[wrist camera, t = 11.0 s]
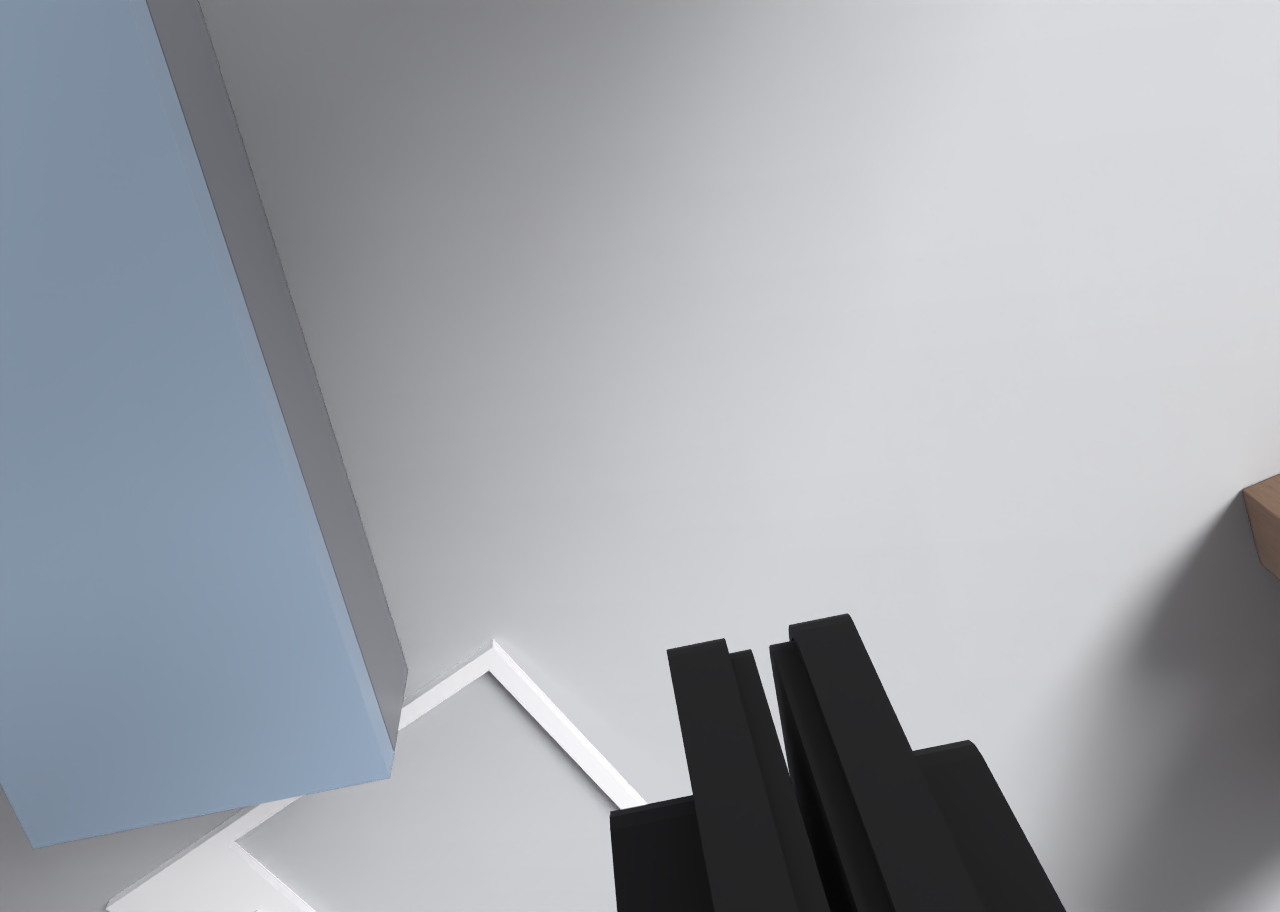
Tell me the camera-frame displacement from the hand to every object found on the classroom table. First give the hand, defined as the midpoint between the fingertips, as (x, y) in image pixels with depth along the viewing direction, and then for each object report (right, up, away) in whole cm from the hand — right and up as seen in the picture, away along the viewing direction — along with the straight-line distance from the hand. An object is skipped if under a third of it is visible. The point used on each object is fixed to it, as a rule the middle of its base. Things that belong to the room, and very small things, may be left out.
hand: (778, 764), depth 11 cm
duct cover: (-17, +4, +22) cm, 29 cm away
